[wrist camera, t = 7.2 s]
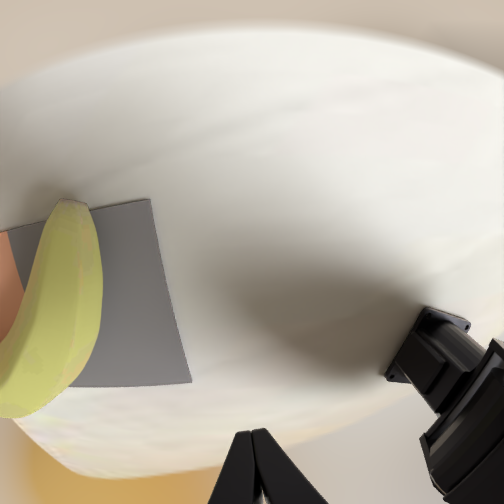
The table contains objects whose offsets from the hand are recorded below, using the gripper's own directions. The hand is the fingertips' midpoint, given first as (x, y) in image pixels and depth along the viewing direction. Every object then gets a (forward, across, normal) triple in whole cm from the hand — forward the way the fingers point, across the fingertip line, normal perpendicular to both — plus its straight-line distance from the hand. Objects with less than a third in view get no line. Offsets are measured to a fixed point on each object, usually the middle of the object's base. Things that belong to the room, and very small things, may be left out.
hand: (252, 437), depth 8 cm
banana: (+10, +17, 0) cm, 20 cm away
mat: (+10, +9, 0) cm, 13 cm away
